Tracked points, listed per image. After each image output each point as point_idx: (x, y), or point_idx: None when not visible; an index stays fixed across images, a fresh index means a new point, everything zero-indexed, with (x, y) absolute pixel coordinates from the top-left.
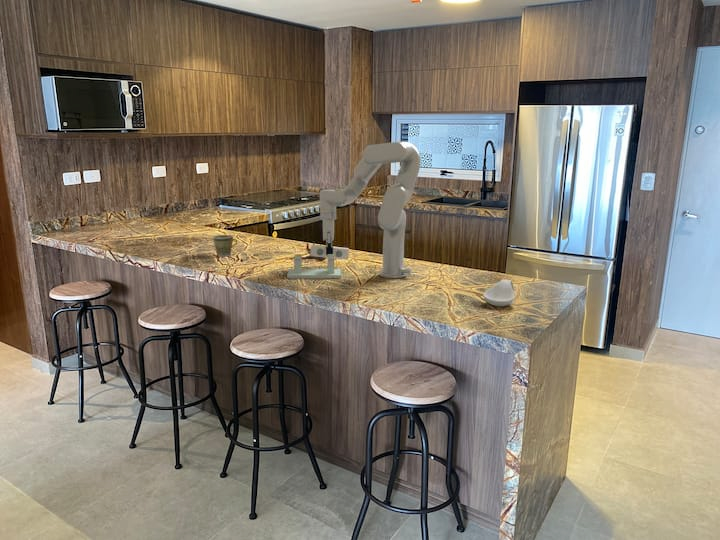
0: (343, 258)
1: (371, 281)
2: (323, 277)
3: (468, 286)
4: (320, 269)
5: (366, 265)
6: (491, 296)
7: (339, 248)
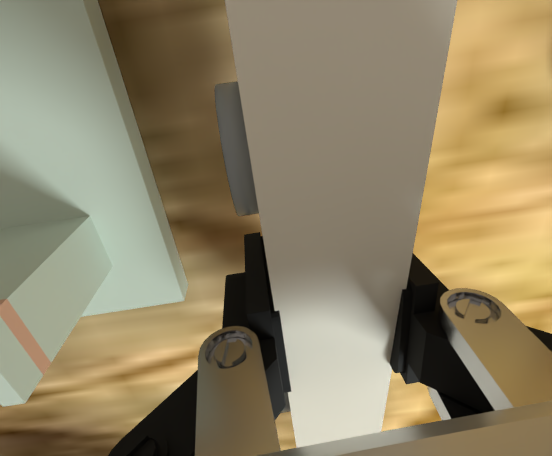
0: None
1: (23, 444)
2: None
3: None
4: (87, 141)
5: None
6: None
7: (295, 436)
